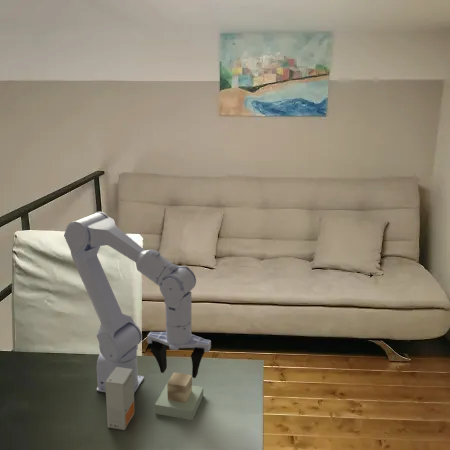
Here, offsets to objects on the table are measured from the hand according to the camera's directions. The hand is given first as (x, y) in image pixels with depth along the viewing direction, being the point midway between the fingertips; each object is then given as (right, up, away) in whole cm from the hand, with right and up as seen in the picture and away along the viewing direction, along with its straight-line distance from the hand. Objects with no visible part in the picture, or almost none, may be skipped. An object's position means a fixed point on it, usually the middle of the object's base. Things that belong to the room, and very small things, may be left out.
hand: (179, 372), depth 116 cm
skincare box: (-13, -10, -3) cm, 16 cm away
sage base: (0, -8, +3) cm, 9 cm away
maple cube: (0, -6, +2) cm, 6 cm away
